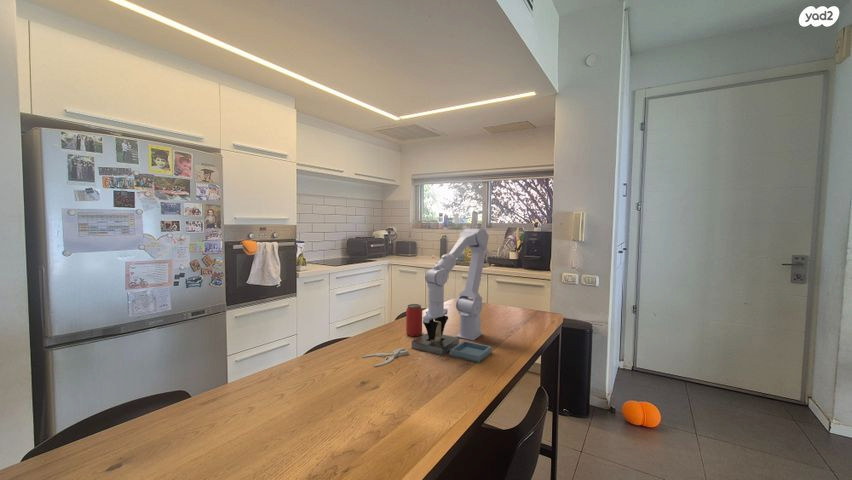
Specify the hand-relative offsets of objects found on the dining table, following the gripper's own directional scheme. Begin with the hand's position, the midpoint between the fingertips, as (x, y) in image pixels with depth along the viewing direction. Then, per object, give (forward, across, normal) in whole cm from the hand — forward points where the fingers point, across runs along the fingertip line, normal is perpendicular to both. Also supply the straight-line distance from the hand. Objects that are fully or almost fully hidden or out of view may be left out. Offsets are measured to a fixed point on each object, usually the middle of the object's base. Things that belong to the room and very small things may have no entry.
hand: (435, 337), depth 129 cm
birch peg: (+3, 0, 0) cm, 3 cm away
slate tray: (+3, 0, +14) cm, 15 cm away
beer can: (+4, -7, -14) cm, 16 cm away
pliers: (+4, +18, -8) cm, 20 cm away
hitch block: (+3, 0, 0) cm, 3 cm away
